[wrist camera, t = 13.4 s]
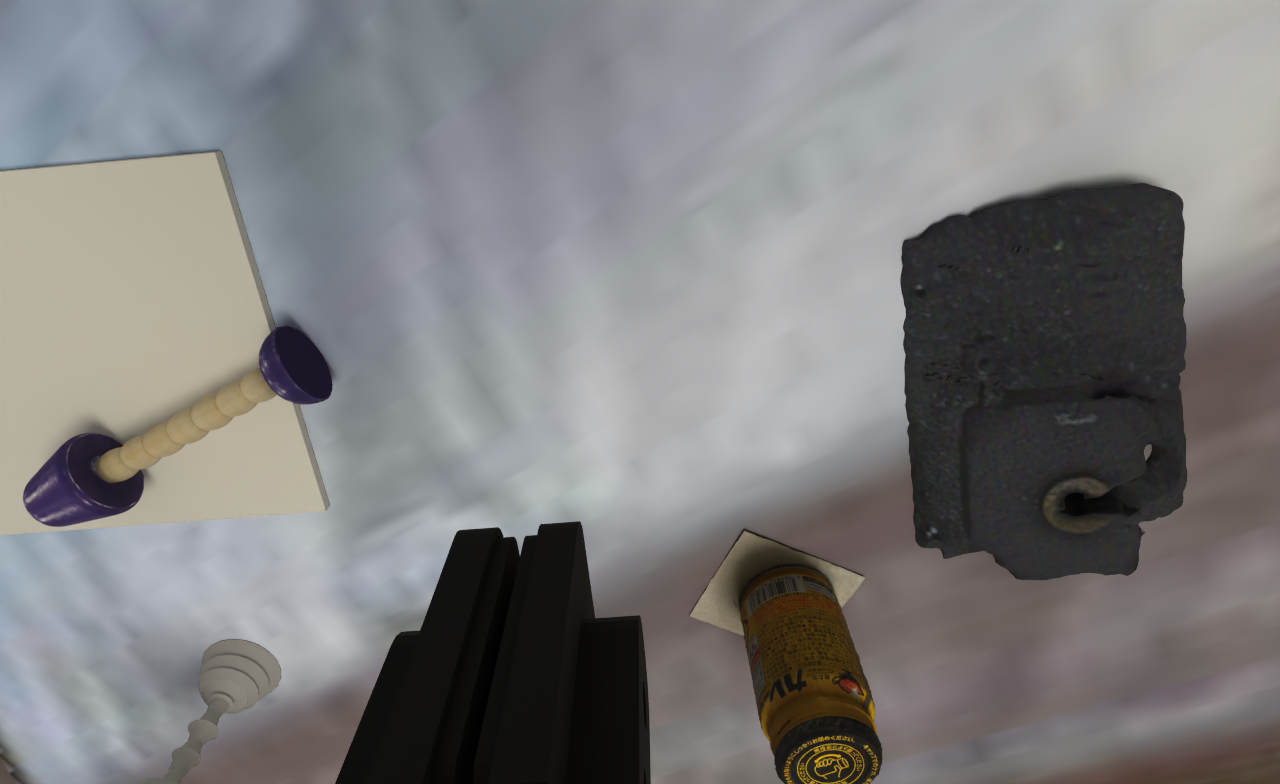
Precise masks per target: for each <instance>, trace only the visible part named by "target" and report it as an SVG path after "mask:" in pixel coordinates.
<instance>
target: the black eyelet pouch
mask: <svg viewBox="0 0 1280 784" xmlns="http://www.w3.org/2000/svg"><path fill="white" fill-rule="evenodd" d="M1182 211H1183V201H1182V199H1181V197H1180V196H1179V195H1178V194H1176V193H1175V192H1173V191H1170V190H1167V189H1163V188H1160V187H1156V186H1151V185H1148V184H1145V183H1139V184H1131V185H1126V186H1123V187H1112V188H1104V189H1096V190H1086V189H1076V190H1075V191H1073V192H1064V193H1061V194H1059V195H1056V196H1053V197H1047V199H1041V200H1028V201H1018V202H1010V203H1005V204H1002V205H999V206H996V207H992V208H990V209H988V210H985V209H984V210H982V211H979V212H976V213H974V214H972V215H971V216H969V217H967V216H957V217H950V218H948V219H947V220H945V221H944V222H942V223H940V224H936V225H934V226H932V227H930V228H929V229H928V230H927V231H926V232H925V233H924V234H923V235H922V236H921V237H920V238H919V239H917V240H915V241H904V244H903V249H902V262H903V268H902V273H901V290H902V295H903V298H904V305H905V307H906V318H905V321H904V325H903V329H904V332H905V337H904V342H903V345H904V351H905V354H906V357H905V395H906V404H905V406H906V412H907V419H908V421H909V423H910V424H909V426H908V430H907V432H908V436H909V454H910V462H911V477H912V484H913V502H914V515H913V520H914V525H915V539H916V542H917V544H918V545H919V546H920V547H922V548H939V549H941V551H942V554H943V558H944V559H948V558H951V557H955V556H958V555H962V554H966V553H973V552H979V551H987V552H988V553H990V554H992V555H993V556H994V558H995V562H996V563H997V564H999V565H1000V566H1002V567H1004V568H1006V569H1008V571H1009V572H1010V573H1011V574H1012V575H1013V576H1014V577H1015V578H1016V579H1019V580H1048V579H1053V578H1059V577H1063V576H1067V575H1075V574H1080V573H1098V574H1103V575H1115V574H1123V575H1126V576H1128V575H1130V574H1132V573H1133V572H1134V571H1135V570H1136V568H1137V566H1138V561H1139V548H1140V542H1141V537H1142V535H1143V534H1144V533H1145V532H1144V531H1143V530H1142V529H1141V528H1140V527H1139V525H1138V524H1139V523H1140V522H1142V521H1152V520H1155V519H1156V518H1158V517H1165V516H1167V515H1169V514H1171V513H1172V512H1173V511H1174V510H1176V509H1178V508H1179V507H1181V505H1182V503H1183V491H1184V489H1185V486H1186V482H1187V469H1186V438H1185V434H1184V422H1183V407H1182V400H1181V391H1180V389H1179V384H1180V379H1181V377H1180V376H1179V374H1180V372H1182V371H1183V370H1184V369H1185V366H1186V362H1185V359H1184V352H1185V349H1186V324H1185V322H1184V317H1183V307H1184V303H1185V298H1184V292H1183V289H1182V257H1183V245H1184V232H1185V225H1184V220H1183V216H1182ZM1148 444H1151V445H1152V452H1151V454H1150V456H1149V458H1148V459H1147V461H1145V457H1144V452H1143V451H1144V449H1145V447H1146V445H1148Z"/></svg>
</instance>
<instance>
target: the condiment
mask: <svg viewBox="0 0 1280 784" xmlns="http://www.w3.org/2000/svg"><path fill="white" fill-rule="evenodd" d="M777 561H779V562H777ZM864 579H865V577H862V576H860V575H857V574H855V573H853V572H850V571H848V570H846V569H843V568H841V567H838V566H834V565H832V564H831V563H828V562H826V561H823V560H821V559H817V558H815V557H813V556H810V555H807V554H804V553H802V552H797V551H794V550H792V549H790V548H788V547H786V546H783V545H780V544H778V543H776V542H774V541H771V540H768V539H764V538H761V537H758V536H756V535H754V534H751V533H749V532H746V531H744V532H743V534H742V535H741V537H740V538H739V540H738V541H737V542H736V543H735V545H734V547H733V548H732V549H731V551H730V552H729V554H728V556H727V558H726V559H725V560H724V561H723V563H722V565H721V566H720V568H719V569H718V571H717V573H716V574H715V576H714V577H713V578H712V580H711V581H710V583H709V585H708V587H707V589H706V590H705V592H704V594H703V595H702V596H701V598H700V599H699V601H698V603H697V605H696V606H695V608H694V609H693V611H692V613H691V614H690V616H691V617H694V618H696V619H698V620H701V621H704V622H707V623H710V624H713V625H714V626H717V627H720V628H724V629H726V630H729V631H731V632H733V633H738V634H740V635H743V636H744V639H745V642H746V649H747V655H748V659H749V665H750V670H751V675H752V680H753V688H754V694H755V698H756V703H757V708H758V715H759V720H760V723H761V728H762V730H763V732H764V734H765V736H766V737H767V739H768V740H769V741H770V747H771V750H772V753H773V755H774V757H775V766H776V772H777V775H778V777H779V778H780V779H781V780H782V781H783V782H784V784H870V783H871V782H872V781H873V780H874V778H875V777H876V776H877V775H879V771H880V767H881V764H882V747H881V743H880V741H879V739H878V736H877V731H876V726H875V724H874V716H875V706H874V702H873V699H872V695H871V690H870V689H869V688H870V687H869V685H868V681H867V679H866V677H865V675H864V673H863V669H862V666H861V664H860V659H859V656H858V654H857V652H856V650H855V647H854V643H853V641H852V638H851V636H850V633H849V630H848V627H847V624H846V620H845V618H844V616H843V613H842V607H843V606H844V605H845V603H846V602H847V601H848V600H849V599H850V597H851V596H852V595H853V594H854V592H855V591H856V590H857V589H858V587H859V586H860V585H861V583H862V582H863V580H864ZM732 598H734V600H735V602H732V600H731V599H732ZM735 603H737V604H738V606H737V607H736V606H735Z"/></svg>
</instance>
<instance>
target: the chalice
mask: <svg viewBox="0 0 1280 784" xmlns="http://www.w3.org/2000/svg"><path fill="white" fill-rule="evenodd" d="M202 665H203V666H202V669H201V672H200V676H201V678H200V681H199V691H200V694H201V696H202V698H203V700H204V702H205V703H206V704H208V709H207V712H206V713H205V714H204V715H203V716H202V717H201V718H200V719H198V720H195V721H192V722H191V723H190V724H189V726H188V731H189V733H190V736H189V739H188V741H187V742H186V743H185V744H184V745H183V746H182V747H180V748H178V749H175V750H174V751H173V753H172V759H173V761H172V763H171V766H170V768H169V771H168V773H167V774H166V775H165V776H164V777H163V778H150V779H147V780H144V781H142V782H141V783H139V784H180V783H181V780H182V778H183V777H184V776H185V774H186V773H187V772H188V771H189V770H190V769H191V768H192V767H194V766H196V765H198V764H199V763H200V761H201V757H200V752H201V748H202V746H203V745H204V744H205V743H206V742H207V741H209V740H213V739H215V738H216V737H217V736H218V733H219V731H218V728H217V724H218V721H219V718H220V717H221V715H222V714H223V713H236V712H240V711H243V710H245V709H248V708H250V707H252V706H253V705H254V704H255V703H256V702H257V701H259V700H261V699H262V698H263V697H264V696H265V695H266V694H268V693H270V692H271V691H273V690H274V689H275V688H276V687H277V686H278V684H279V681H280V679H281V668H280V666H279V664H278V662H277V660H276V659H275V658H274V657H273V656H272V655H271V654H270V652H269V651H267V650H265V649H264V648H262V647H261V646H259V645H257V644H254V643H251V642H248V641H244V640H235V639H231V640H224V641H220V642H218V643H215V644H213V645H211V646H210V647H209V648H208V649H207V650H206V651H205V653H204V656H203V659H202Z"/></svg>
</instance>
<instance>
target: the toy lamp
mask: <svg viewBox="0 0 1280 784" xmlns="http://www.w3.org/2000/svg"><path fill="white" fill-rule="evenodd" d="M259 366H260V367H259V368H256V369H254V370H252V371H250V372H249V373H248V374H246V375H245V376H244V378H243V379H242V380H238V381H234V382H231V383H229V384H227V385H226V386H224V387H223V388H222V389H221V390H220V391H219V392H218V394H212V395H209V396H206V397H204V398H202V399H201V400H199V401H198V402H197V403H196V404H195V405H194V407H193V408H188V409H184V410H182V411H180V412H178V413H177V414H175V415H174V416H173V417H172V418H171V419H170V420H169V422H163V423H160V424H158V425H156V426H154V427H152V428H151V429H150V430H149V431H148V432H147V433H146V434H145V435H140V436H136V437H134V438H132V439H130V440H129V441H127V442H126V443H125V444H124V445H122V444H121V443H119V442H118V441H116V440H114V439H113V438H111V437H108V436H105V435H102V434H96V433H85V434H79V435H77V436H74V437H72V438H71V439H69V440H68V441H66V442H65V443H64V444H63V445H62V446H61V447H60V448H59V449H58V450H57V451H56V452H55V453H54V454H53V455H52V456H51V457H50V458H49V459H48V460H47V461H46V462H45V464H44V465H43V466H42V467H41V468H40V469H39V470H38V471H37V473H36V474H35V475H34V476H33V477H32V478H31V479H30V480H29V482H28V483H27V485H26V486H25V489H24V492H23V502H24V505H25V508H26V509H27V511H28V513H29V514H30V515H31V516H32V517H33V518H34V519H36V520H37V521H39V522H40V523H42V524H45V525H47V526H52V527H64V526H70V525H75V524H79V523H83V522H88V521H92V520H97V519H101V518H105V517H110V516H114V515H118V514H121V513H124V512H126V511H128V510H130V509H131V508H133V507H134V506H135V505H136V504H137V503H138V501H139V500H140V498H141V496H142V493H143V490H144V475H143V473H142V471H141V469H145V468H149V467H151V466H153V465H154V464H156V463H157V462H158V461H159V460H161V458H162V457H166V456H170V455H172V454H174V453H176V452H178V451H179V450H181V449H182V448H183V447H184V446H185V445H186V444H190V443H194V442H196V441H199V440H200V439H202V438H203V437H205V436H206V435H207V434H208V433H209V432H210V430H216V429H219V428H221V427H223V426H225V425H227V424H228V423H229V422H230V421H231V420H232V419H233V417H236V416H240V415H243V414H246V413H248V412H249V411H251V410H252V409H253V408H254V407H255V406H256V405H257V404H258V403H260V402H265V401H268V400H270V399H272V398H274V397H275V396H276V395H278V396H280V397H281V398H283V399H285V400H287V401H289V402H292V403H296V404H313V403H318V402H322V401H324V400H326V399H328V398H329V396H330V395H331V392H332V378H331V376H330V372H329V369H328V366H327V364H326V362H325V360H324V358H323V356H322V355H321V354H320V352H319V350H318V349H317V348H316V346H315V345H314V344H313V343H312V342H311V341H310V339H308V338H307V337H306V336H305V335H304V334H302V333H301V332H300V331H298V330H296V329H293V328H292V327H288V326H282V327H278V328H276V329H275V330H273V331H272V332H271V333H270V334H269V335H268V336H267V337H266V338H265V340H264V342H263V344H262V346H261V348H260V351H259Z"/></svg>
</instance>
